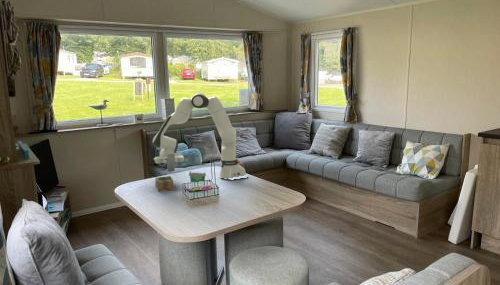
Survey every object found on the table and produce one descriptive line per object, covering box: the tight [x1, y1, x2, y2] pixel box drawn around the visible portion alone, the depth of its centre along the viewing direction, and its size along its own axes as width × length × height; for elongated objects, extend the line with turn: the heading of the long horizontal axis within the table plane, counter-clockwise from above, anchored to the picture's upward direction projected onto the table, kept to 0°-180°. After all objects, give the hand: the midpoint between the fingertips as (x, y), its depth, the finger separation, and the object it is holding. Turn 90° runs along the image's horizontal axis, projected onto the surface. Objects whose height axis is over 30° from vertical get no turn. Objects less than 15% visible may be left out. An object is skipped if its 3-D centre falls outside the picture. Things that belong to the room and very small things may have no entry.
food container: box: [188, 170, 207, 183], centre depth 257 cm, size 12×6×10 cm, turn 73°
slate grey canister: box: [166, 153, 176, 173], centre depth 257 cm, size 5×5×12 cm
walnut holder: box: [154, 175, 175, 192], centre depth 254 cm, size 10×14×6 cm
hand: (171, 161), depth 256 cm, fingers closed on slate grey canister, 5 cm apart
